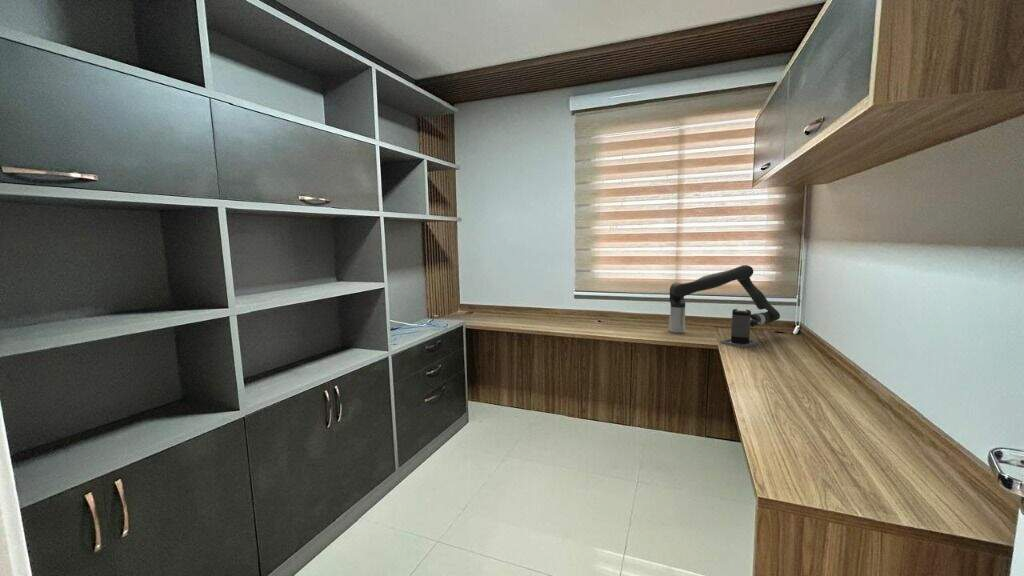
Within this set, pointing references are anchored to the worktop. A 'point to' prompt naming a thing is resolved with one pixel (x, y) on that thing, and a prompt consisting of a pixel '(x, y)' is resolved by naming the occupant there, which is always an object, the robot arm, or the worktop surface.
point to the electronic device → (740, 326)
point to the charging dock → (728, 342)
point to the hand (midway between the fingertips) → (739, 323)
